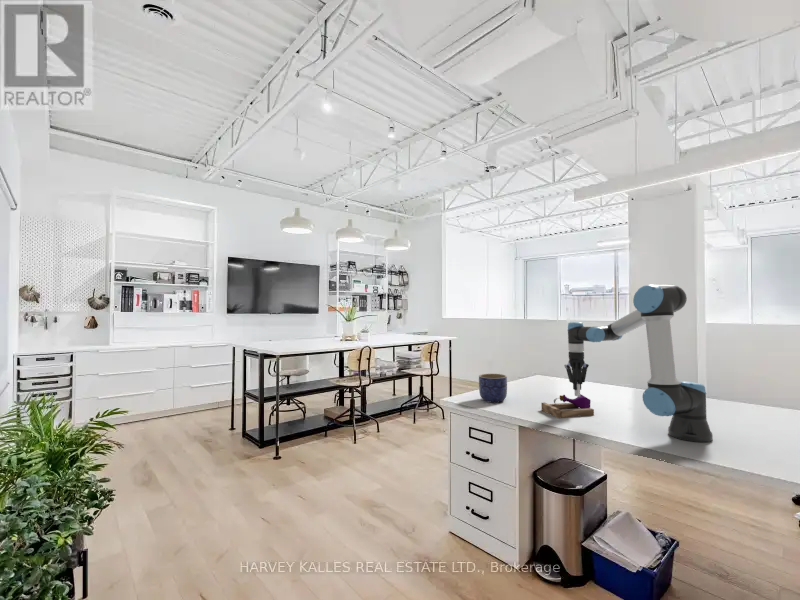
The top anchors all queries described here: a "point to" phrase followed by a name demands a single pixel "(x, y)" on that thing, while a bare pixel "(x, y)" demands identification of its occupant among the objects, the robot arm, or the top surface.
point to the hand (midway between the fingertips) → (577, 395)
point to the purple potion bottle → (577, 401)
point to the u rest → (566, 410)
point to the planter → (493, 387)
